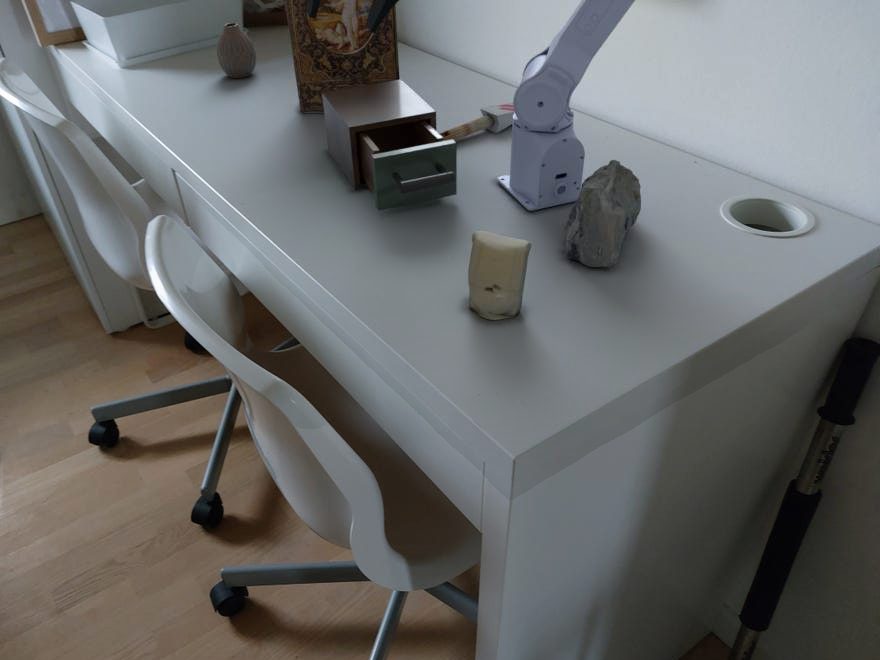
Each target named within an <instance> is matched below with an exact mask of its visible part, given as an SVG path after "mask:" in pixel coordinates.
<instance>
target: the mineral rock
mask: <svg viewBox="0 0 880 660" xmlns="http://www.w3.org/2000/svg"><path fill="white" fill-rule="evenodd" d="M641 209H642V194H641V183H640V178H638V177H637V176H636V175H635V174H634V173H633V171H632V170H631V169H630V168H627V167H626V166H624V165H622V164H621V161H619V160H616V159H611V160H609V162H608V164H606V165H603V166H600V167H599V168H598V169H596V170H595V171H594V172H593V173H592V175H589V176H588V177H586V178H585V179H584V181H583V182H582V183H581V192H580V194H579V198H578V199H577V201H574V204H573V206H572V208H571V210H570V212H569V215H568V217H567V218H568V219H567V220H566V221H565V224H564V230H565V234H566V238H565V244H566V245H565V253H566V255H565V256H566V257H567V258H568V259H570V260H577V261H579V262H580V263H581V264H583V265H585V266H587V267H589V268H599V267H604V268H610V267H612V266H614V265H616V263H617V262H618V261H619V258H620V252H621V249H622V245H623V243H624V239H625V237H626V232H627V231H628V230H629V229H631V228H632V227H633V226H634V225H635V224H636V223H637V220H638V216H639V215H640V213H641Z"/></svg>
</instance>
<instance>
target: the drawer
mask: <svg viewBox="0 0 880 660" xmlns="http://www.w3.org/2000/svg"><path fill="white" fill-rule="evenodd" d="M355 133H356V142H357V153H358V164H359V174H360V176H361V177H362V178H363V180H364V181H365V183H366V184H367V185H368V187H369V188H368V189H370V192H371V193H372V194H373V197H374V207H375V209H376V210H377V212H380V211H386V210H390V209H395V208H399V207H404V206H409V205H414V204H418V203H423V202H428V201H434V200H437V199H443V198H447V197H451V196H457V194H458V193H457V191H458V190H457V189H458V186H457V184H458V183H457V180H458V178H457V176H458V175H457V174H458V173H457V167H458V166H457V159H458V158H457V155H458V153H457V152H458V151H457V147H458V146H457V143H458V142H456V141H454V140H453V139H452V140H447V141H443V137H442V136H441V135H440V134H439V132H438V131H437V129H436V130H435V129H434V128H433V127H432V126H431V125H430V124H428V123H427V122H426V121H425V120H419V121H414V122H408V123H403V124H398V125H392V126H387V127H381V128H376V129H371V130H365V131H360V132H355Z"/></svg>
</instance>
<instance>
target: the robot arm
mask: <svg viewBox="0 0 880 660" xmlns="http://www.w3.org/2000/svg"><path fill="white" fill-rule="evenodd" d="M320 1H321V0H307V7H306V10H307V13H308V15H309V17H311V18H316V15H317V13H318V9H319V5H320ZM399 1H400V0H373V3H372V5H371V8H370V11H369V14H368V18H367V22H366V25H367V27H368V29H369V31H370V32H372V33H376V31H377V29H378V27H379V26H380V24H381V23H382V21H383V20H384V18H385V17H386V15H387V14H388V13H389V11H390V10H391V9H392V8H393V6H394V5H397V3H398V2H399ZM635 1H636V0H580V2H579V3H578V5H577V6H576V8H575V9H574V11H573V12H572V14H571V15H570V17H569V18H568V20H567V21H566V22H565V24H564V26H563V27H562V29H560V30H559V31H558V33H556V35H555V36H554V37H553V38H552V40H551V42H549V44H548V46H546V47H545V49H543V50H542V51H540V52H538V53H537V54H535V55H533V57H531V58H530V59H529V60H528V62H526V64H525V67H524V69H523V72H522V78H521V81H520V83H519V85H518V86H517V87H516V90H515V92H514V95H513V100H512V101H513V102H512V103H513V108H514V114H513V123H512V124H511V125H512V126H511V127H512V128H511V144H510V162H509V163H510V164H509V174H505V175H500V176H497V177H496V181H497V182H498V183H499V184H500V185H501V186H502V187H503V188H504V189H505V190H506V191H507V192H508V193H509V194H511V196H512V197H514V198H515V199H516V200H517V201H518V202H519V203H520V204H521V205H522V206H523V207H524V208H525V209H526V210H528V211H530V212H531V211H532V212H533V211H537V210H541V209H546V208H550V207H555V206H560V205H563V204H569V203H573V202H576V201H577V199H578V198H579V194H580V192H581V188H582V183H583V182H582V181H583V173H584V166H585V156H586V152H585V148H584V145H583V143H582V142H581V140H580V139H579V138H578V136H577V135H576V132H575V128H574V119H575V118H574V117H575V115H574V111H572V110H571V109H572V108H571V107H570V103H571V98H572V95H573V93H574V91H575V90H576V89H577V87H578V86H579V84H580V83H581V81H582V79H583V77H584V76H585V74H586V72H587V70H588V68H589V66H590V65H591V62H592V61H593V59H594V57H596V55H597V54H598V52H599V50H600V49H601V48H602V46H603V45H604V43H605V42H606V41H607V40H608V38H609V37H610V35H611V34H612V33H613V32H614V30H615V29H616V28H617V26H618V25H619V24H620V22H621V21H622V19H623V18H624V17H625V15H626V14H627V13H628V11H629V9H630V8H631V7H632V6H633V4H634V3H635Z"/></svg>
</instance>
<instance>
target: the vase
mask: <svg viewBox="0 0 880 660" xmlns="http://www.w3.org/2000/svg"><path fill="white" fill-rule="evenodd" d="M216 56H217V61H218V64H219V66H220V68H221V70H222V71H223V73H224V74H225V75H227V76H228V77H229V78H232V79H243V78H247V77H249V76H251V75H252V73H253V72H254V70H255V68H256V66H257V65H256V64H257V52H256V49H255V46H254V44H253V42H252V40H251V38H250V37H249V35H247V34H246V33H245V32H244V31H243V30H242V28H241V27H240V25H239V24H238V23H237V22H228V23H225V24H224V25H223V30H222V32H221V35H220V36H219V38H218V41H217V44H216Z"/></svg>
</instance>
